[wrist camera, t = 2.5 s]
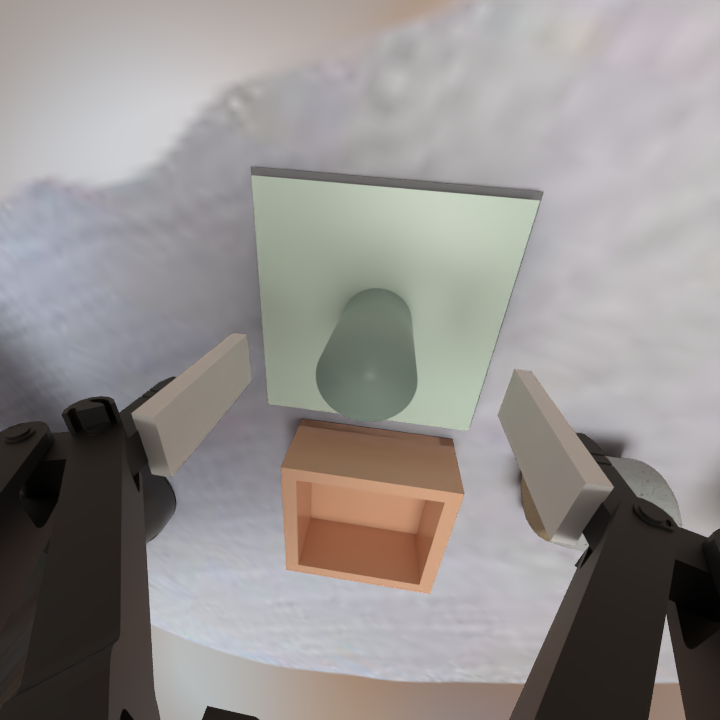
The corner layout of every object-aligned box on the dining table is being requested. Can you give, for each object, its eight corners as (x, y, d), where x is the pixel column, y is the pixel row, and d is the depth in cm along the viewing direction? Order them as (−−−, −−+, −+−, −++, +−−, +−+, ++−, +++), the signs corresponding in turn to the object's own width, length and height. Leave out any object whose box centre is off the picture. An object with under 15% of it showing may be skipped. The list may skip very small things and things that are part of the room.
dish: (303, 514, 36) (286, 569, 31) (302, 418, 29) (280, 467, 24) (425, 534, 35) (429, 593, 30) (452, 439, 28) (464, 494, 23)
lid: (272, 396, 28) (221, 477, 20) (259, 176, 20) (162, 162, 12) (465, 421, 27) (493, 519, 19) (532, 200, 19) (632, 202, 11)
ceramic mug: (531, 430, 27) (573, 508, 20) (631, 439, 26) (710, 524, 20) (501, 509, 32) (527, 592, 26) (584, 519, 32) (634, 607, 25)
